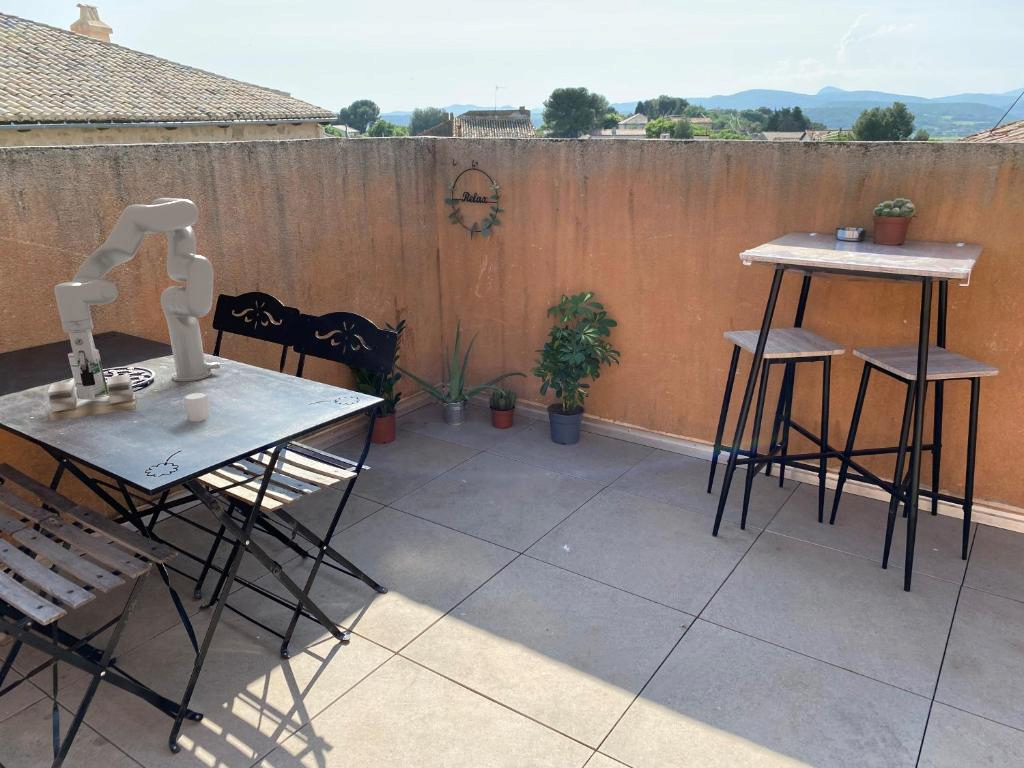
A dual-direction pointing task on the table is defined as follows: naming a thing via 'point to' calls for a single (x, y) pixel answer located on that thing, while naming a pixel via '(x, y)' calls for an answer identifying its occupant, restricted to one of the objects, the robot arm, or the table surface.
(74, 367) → the syrup box
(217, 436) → the table surface
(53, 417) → the rail board
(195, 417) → the shot glass
